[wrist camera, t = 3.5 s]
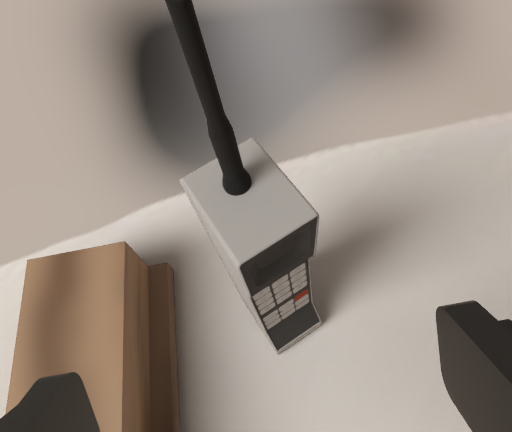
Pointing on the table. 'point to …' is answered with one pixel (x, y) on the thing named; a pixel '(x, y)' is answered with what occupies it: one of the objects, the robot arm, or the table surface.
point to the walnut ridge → (102, 335)
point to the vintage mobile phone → (250, 209)
